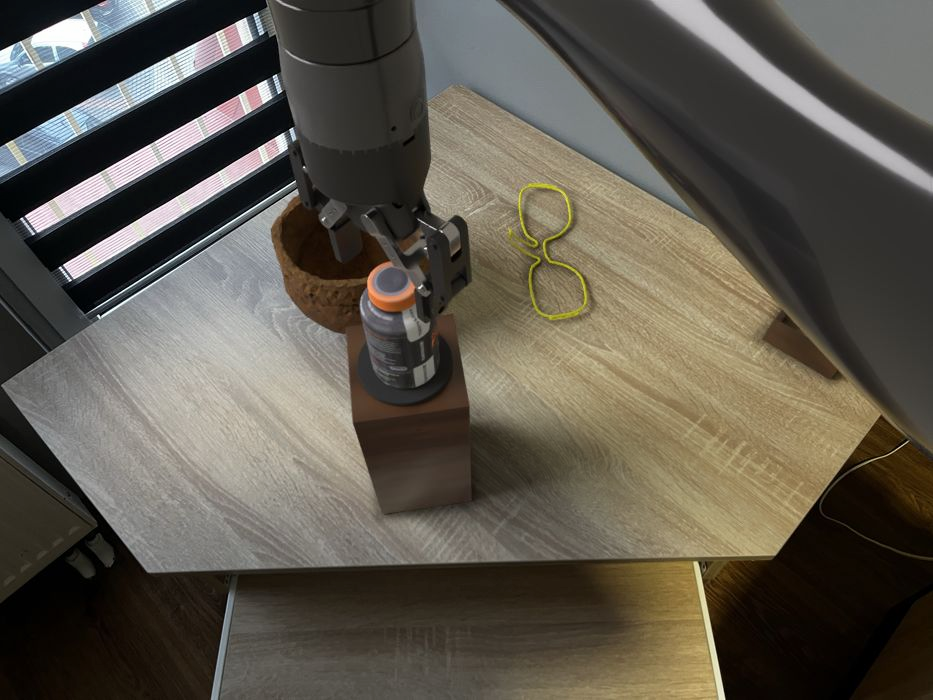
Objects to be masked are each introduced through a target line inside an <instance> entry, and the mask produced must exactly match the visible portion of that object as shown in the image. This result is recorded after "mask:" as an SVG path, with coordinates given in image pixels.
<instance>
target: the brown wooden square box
mask: <svg viewBox="0 0 933 700" xmlns="http://www.w3.org/2000/svg"><path fill="white" fill-rule="evenodd" d="M787 316H788V315H787V314H786V313H785V312H784V311H783V310H782V309H781V310H780V312H779V313H777V315H776V317H775V318H773V320H772V322H771V323H770V325H769V327H768V328H767V330H766V332H765V333H764V335H763V337H762V341H764V342H766V343H768V344H769V345H771V346H772V347H774V348H775V349H778V350H779V351H781V352H783V353H784V354H786V355H787V356H789V357H791V358H793V359H794V360H796V361H798V362H799V363H801V364H803V365H805V366H806V367H808V368H809V369H812V371H814V372H816V373H818V374H819V375H821V376H823V377H825V378H826V379H828V380H831V379H832V378H833V377H834V376H835V374H836V373H837V372H838V371H839V370H838V369H837V368H836V367H835V366H834V365H833V364H832V363H831V362H830V361H829V360H828V358H827V357H826V356H825V355H824V354H823V353H822V352H821V351H820V350H819V349H818V348H817V347H816V345H815V344H814V343H813V342H812V341H811V340H810V339H809V338H808V337H807V336H806V335H805V334H804V333H802V332H799V331H798V330H796V329H795V328H793V327H791V326H789V325H787V324H786V323H784V322H783V321H784V319H785V318H786V317H787Z"/></svg>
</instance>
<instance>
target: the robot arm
mask: <svg viewBox="0 0 933 700" xmlns="http://www.w3.org/2000/svg"><path fill="white" fill-rule="evenodd" d="M266 1H267V5H268V9H269V12H270V16H271V20H272V24H273V28H274V32H275V36H276V40H277V46H278V53H279V64H280V72H281V77H282V81H283V86H284V90H285V94H286V97H287V101H288V105H289V108H290V112H291V115H292V116H291V117H292V119H293V123H294V127H295V131H296V134H297V135H296V136H297V138H296V139H294V140H293V141H292V142H290V143H288V144H287V145H286V147H287V152H288V157H289V160H290V164H291V168H292V172H293V176H294V180H295V184H296V188H297V192H298V195H299V197H300V200H301V202H302V204H303V206H304V207H305V208H307V209H308V210H312V209H313V208H316V209H317V210H318V211H319V212H320V214H319V215H318V217H319V220H320V221H321V223H322V224H323V225H324V226H325V227H326V228H328V232H329V235H330V239H331V243H332V246H333V249H334V253H335V257H336V259H337V260H339V261H340V262H342V263H343V264H345V263H347V262H349V261H350V260H351V259H352V258H354V257H355V256H356V255H357V254H359V253H360V252H361V250H362V248H363V244H362V240H361V235H360V230H359V229H361V230H363V231H365V232H367V233H369V234H370V235H372V236H373V237H374V238H375V239H376V240H377V241H378V242H379V243H380V245H381V246H382V248H383V250H384V251H385V253H386V254H387V256H388V258H389V259H390V261H391V262H392V264H393V266H394V267H395V268H396V269H401V270H405V272H406V273H407V275H408V277H409V278H410V280H411V282H412V283H413V285H414V286H415V289H414V294H415V302H416V310H417V318H418V319H420V320H421V321H423V322H424V323H425V324H426V323H428V322H430V321H431V320H432V321H434V320H435V319H436V318H437V317H439V316H440V315H443V314H444V313H445V311H446V310H448V308H449V304H450V303H451V302H452V301H453V299H454V298H455V297H456V296H457V295H459V293H461V292H462V291H463V290H464V289H465V288H467V287H468V286H470V285H471V283H473V274H472V262H471V261H472V259H471V249H470V237H469V236H470V235H469V226H468V223H467V221H466V220H465V219H464V218H463V217H462V216H460V215H458V214H455V215H453V216H452V217H451V218H449V219H448V220H445V219H443V218H441V217H440V216H439V215H436V214H435V213H433V212H432V208H431V205H430V203H429V201H428V199H427V196H426V194H425V190H424V189H425V184H426V181H427V178H428V174H429V171H430V168H431V163H432V147H431V135H430V133H431V132H430V120H429V117H430V116H429V105H428V93H427V91H428V90H427V77H426V65H425V57H424V56H425V55H424V51H423V50H424V49H423V45H422V41H421V36H420V33H419V28H418V27H419V26H418V20H417V9H416V0H266ZM495 2H496V3H498V4H499V5H500V6H502V8H504V9H505V10H506V11H507V12H508V13H509V14H511V15H512V16H513V17H514V18H515V19H516V20H517V21H518V22H520V23H521V24H522V25H523V26H524V27H525V28H526V29H527V31H529V32H530V33H531V34H532V35H533V36H534V37H535V38H536V39H537V40H538V41H539V42H540V43H541V44H542V45H543V46H545V48H546V49H547V50H549V51H550V53H551V54H552V55H554V57H555V58H556V59H557V60H558V61H559V62H560V63H561V64H562V65H563V67H565V69H566V70H567V71H568V72H569V73H570V74H571V75H572V76H573V77H574V78H575V79H576V81H577V82H578V83H579V84H580V85H581V86H582V87H583V88H584V90H586V92H587V93H588V94H589V95H590V96H591V97H592V99H593V100H594V101H595V102H596V103H597V104H598V105H599V106H600V108H602V110H603V111H604V112H605V113H606V114H607V115H608V116H609V118H610V119H611V120H612V121H613V122H614V123H615V125H617V127H619V129H620V130H621V131H622V132H623V133H624V135H625V136H626V137H627V139H629V140H630V141H631V143H632V144H633V145H634V147H635V148H636V149H637V151H639V152H640V154H641V155H642V156H643V157H644V158H645V159H646V160H647V162H648V163H649V164H650V165H651V166H652V167H653V168H654V170H655V171H656V172H657V173H658V174H659V175H660V176H661V177H662V179H663V180H664V181H665V182H666V183H667V184H668V186H669V187H670V188H671V189H672V190H673V191H674V192H675V194H676V195H677V196H678V197H679V198H680V199H681V201H683V203H684V204H685V205H686V206H687V207H688V209H690V211H691V212H692V213H693V214H694V215H695V217H697V219H698V220H699V221H700V222H701V223H702V224H703V225H704V226H705V228H707V229H708V230H709V232H710V233H711V234H712V235H713V236H714V237H715V238H716V240H718V241H719V242H720V244H721V245H722V246H723V247H724V248H725V249H726V250H727V251H728V252H729V254H731V255H732V257H734V259H735V260H736V261H737V262H738V263H739V264H740V266H742V267H743V268H744V269H745V270H746V272H748V273H749V275H750V276H751V277H752V278H753V279H754V280H755V282H757V284H758V285H759V286H760V287H761V288H762V289H763V290H764V291H765V293H766V294H767V295H768V296H769V297H770V298H771V299H772V300H773V301H774V302H775V303H776V304H777V306H778V307H780V309H781V310H783V311H784V312H785V313H786V314H787V315H786V316H788V318H789V319H790V320H791V321H792V322H793V323H794V324H795V325H796V326H797V327H798V328H799V329H800V331H801V332H802V333H803V335H805V336H806V337H808V338H809V339H810V340H811V341H812V342H813V343H814V344H815V345H816V347H817V348H818V349H819V350H820V351H821V352H822V353H823V354H824V355H825V356H826V357H827V358H828V360H829V361H830V362H831V363H832V364H833V365H834V366H835V367H836V368H837V369H838V370H837V371H838V372H839V373H840V374H841V375H842V376H843V377H844V378H845V379H846V380H847V382H849V384H851V386H852V387H853V388H854V389H855V390H857V392H858V393H859V394H860V395H861V396H862V397H864V399H865V400H866V401H867V402H868V403H869V404H870V405H871V406H872V407H873V408H874V409H875V410H876V411H877V412H878V413H879V414H880V415H881V416H882V417H883V419H885V420H886V421H887V422H888V423H889V424H890V425H891V426H892V427H894V428H895V429H896V430H897V431H898V432H899V433H900V434H901V435H902V436H903V437H904V438H905V439H906V440H907V441H908V442H909V443H910V444H912V446H914V448H916V450H918V451H919V452H920V453H921V454H922V455H923V456H925V457H926V458H927V459H928V460H929V461H931V462H932V463H933V122H932V121H929V120H927V119H926V118H923V117H921V116H920V115H918V114H916V113H915V112H913V111H911V110H910V109H908V108H906V107H905V106H902V105H901V104H899V103H897V102H896V101H894V100H892V99H891V98H889V97H887V96H886V95H884V94H882V93H880V92H878V91H877V90H875V89H873V88H872V87H870V86H869V85H868V84H866V83H865V82H863V81H862V80H860V79H859V78H857V77H856V76H855V75H853V74H852V73H851V72H849V71H848V70H846V69H845V68H844V67H843V66H841V65H840V64H839V63H838V62H837V61H836V60H834V59H833V58H832V57H830V56H829V55H828V54H827V53H825V51H823V50H822V49H821V48H819V47H818V46H817V45H816V44H815V43H814V42H813V41H812V39H810V37H808V36H807V34H805V32H804V31H803V30H802V29H801V28H800V27H799V26H798V25H797V24H796V23H795V22H794V20H793V19H792V18H791V17H790V15H789V14H788V13H787V11H786V10H785V9H784V7H783V6H782V5H781V4H780V3H779V1H778V0H495ZM313 184H314V187H313ZM417 230H418V231H419V234H420V238H419V240H418V241H417V242H416V243H415V244H414V245H412V246H411V247H410V248H409V249H408V250H406V251H405V252H404V253H403V251H402V250H401V248H400V246H399V245H398V244H400V243H401V242H403V241H404V240H405V239H407V238H408V237H409V236H411V235H412V234H413V233H415V232H416V231H417ZM425 256H427V258H428V260H429V264H430V270H429V271H428V272H426V273H425V274H423V272H422V271H421V269H420V267H419V262H420V260H422V259H423V258H424V257H425Z"/></svg>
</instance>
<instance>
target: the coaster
mask: <svg viewBox="0 0 933 700" xmlns="http://www.w3.org/2000/svg"><path fill="white" fill-rule="evenodd" d="M438 341H439V354H440V362H439V366H438V369H437V371H436V373H435V374H434V375H433V377H432V378H431V379H429V380H428V381H427V382H426V383H424V384H422V385H420V386H418V387H415V388H409V389H400V388H395V387H391V386H388V385H387V384H385V383H384V382H382V381H381V380H380V379H379V378H378V377H377V375H376V373H375V371H374V369H373V366H372V363H371V358H370V354H369V349H368V345H367V341H366V342H365V344H364V345H363V347H362V348H361V350H360V353H359V356H358V360H357V371H358V376H359V379H360V382H361V384H362V386H363V387H364V389H365V390H366V391H367V392H368V393H369V394H370V395H371V396H372V397H373V398H375V399H377V400H378V401H380V402H383V403H385V404H388V405H393V406H413V405H417V404H420V403H423V402H425V401H428V400H430V399H431V398H433V397H434V396H436V395H437V394H438V393H439V392H440V391H441V390H442V389H443V388H444V387H445V385H446V384H447V382H448V380H449V378H450V376H451V373H452V367H453V360H452V353H451V350H450V347H449V345H448V343H447V342H446V340H445V339H444V338H443V337H442V336H441V335H440V334H439V333H438Z"/></svg>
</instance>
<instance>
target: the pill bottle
mask: <svg viewBox="0 0 933 700" xmlns="http://www.w3.org/2000/svg"><path fill="white" fill-rule="evenodd" d="M367 286H368V287H367V288H366V289H365V291H364V292H363V294H362V297H361V300H360V314H361V319H362V323H363V327H364V331H365V336H366V341H367V345H368V349H369V354H370V358H371V363H372V366H373V369H374V371H375V373H376V375H377V377H378V378H379V379H380V380H381V381H382V382H384V383H385V384H387V385H388V386H391V387H395V388H400V389H409V388H415V387H418V386H420V385H422V384H424V383H426V382H427V381H428V380H429V379H431V378H432V377H433V375H434V374H435V373H436V371H437V369H438V366H439V362H440V354H439V341H438V331H437V318H436V319H435V320H434V321H432V320H431V321H430V322H428V323H426V324H425V323H424V322H423V321H421V320H420V319H418V318H417V310H416V302H415V294H414V289H415V286H414V285H413V283H412V282H411V280H410V278H409V277H408V275H407V273H406V272H405V270H401V269H396V268H395V267H394V266H393V264H392V262H386V263H383V264H381V265H379V266H377V267H376V268H375V269H374V270H373V271H372V272H371V273H370V275H369V277H368V281H367Z"/></svg>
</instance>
